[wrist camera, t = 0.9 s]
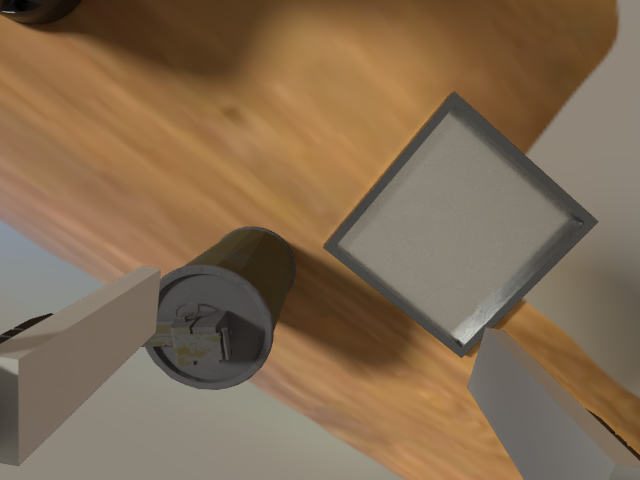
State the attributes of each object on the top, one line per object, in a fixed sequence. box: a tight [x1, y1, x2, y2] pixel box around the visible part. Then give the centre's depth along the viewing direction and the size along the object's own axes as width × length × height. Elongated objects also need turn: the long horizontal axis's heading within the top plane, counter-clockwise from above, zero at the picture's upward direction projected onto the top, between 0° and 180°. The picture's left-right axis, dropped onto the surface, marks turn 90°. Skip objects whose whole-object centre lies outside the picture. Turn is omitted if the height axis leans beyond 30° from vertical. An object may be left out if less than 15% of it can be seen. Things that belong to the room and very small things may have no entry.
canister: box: [141, 227, 295, 390], centre depth 35 cm, size 11×10×20 cm
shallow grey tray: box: [323, 92, 598, 358], centre depth 42 cm, size 22×22×2 cm
